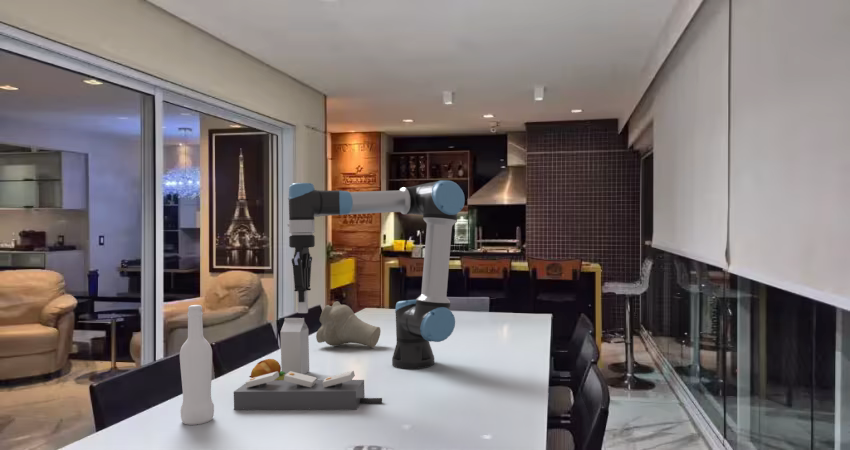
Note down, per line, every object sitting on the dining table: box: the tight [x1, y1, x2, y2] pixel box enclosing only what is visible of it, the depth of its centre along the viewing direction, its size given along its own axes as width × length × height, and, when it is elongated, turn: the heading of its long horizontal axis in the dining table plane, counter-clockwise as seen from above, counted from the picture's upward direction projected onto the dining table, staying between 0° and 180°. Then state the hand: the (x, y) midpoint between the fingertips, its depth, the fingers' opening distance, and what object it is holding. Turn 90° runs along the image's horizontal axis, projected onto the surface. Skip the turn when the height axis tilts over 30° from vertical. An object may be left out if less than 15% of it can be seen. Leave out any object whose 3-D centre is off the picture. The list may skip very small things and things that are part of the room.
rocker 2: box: [284, 371, 318, 387], centre depth 167 cm, size 8×5×2 cm, turn 85°
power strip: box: [233, 379, 383, 411], centre depth 167 cm, size 40×12×6 cm, turn 85°
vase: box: [315, 301, 381, 349], centre depth 245 cm, size 22×22×28 cm
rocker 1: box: [244, 371, 279, 388], centre depth 168 cm, size 8×5×2 cm, turn 85°
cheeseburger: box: [248, 358, 285, 380], centre depth 184 cm, size 10×11×10 cm
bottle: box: [179, 304, 215, 426], centre depth 154 cm, size 8×8×30 cm
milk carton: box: [280, 317, 310, 375], centre depth 202 cm, size 7×7×19 cm
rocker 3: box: [322, 370, 356, 387], centre depth 166 cm, size 8×5×2 cm, turn 85°
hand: (302, 312), depth 179 cm, fingers closed
